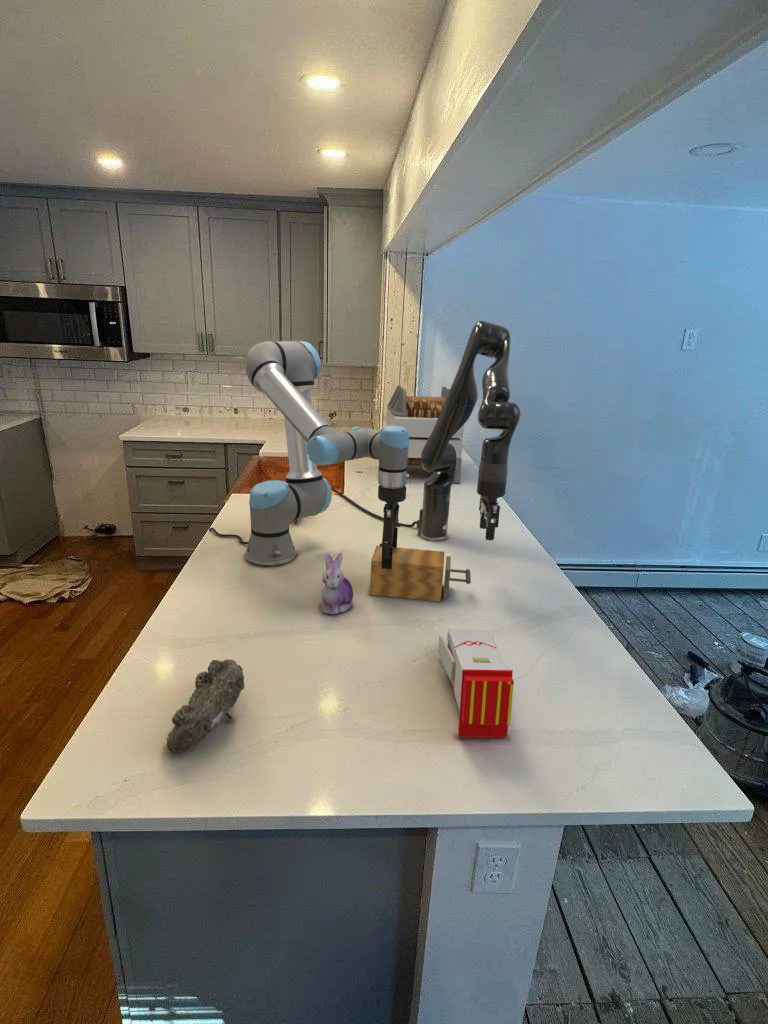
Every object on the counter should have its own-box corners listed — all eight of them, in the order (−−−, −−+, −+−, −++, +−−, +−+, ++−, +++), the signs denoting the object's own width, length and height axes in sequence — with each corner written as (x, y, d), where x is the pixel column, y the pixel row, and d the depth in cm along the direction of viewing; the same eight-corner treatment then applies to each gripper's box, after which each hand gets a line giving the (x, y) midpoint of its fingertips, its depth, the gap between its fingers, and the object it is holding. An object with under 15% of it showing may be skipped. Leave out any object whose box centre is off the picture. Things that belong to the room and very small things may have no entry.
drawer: (468, 584, 163) (471, 558, 160) (469, 600, 154) (472, 572, 151) (385, 577, 165) (387, 550, 162) (382, 591, 157) (383, 563, 154)
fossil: (192, 660, 117) (244, 628, 112) (224, 691, 120) (276, 661, 115) (142, 746, 98) (202, 712, 93) (182, 779, 101) (242, 748, 96)
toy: (488, 613, 130) (523, 677, 101) (484, 667, 133) (517, 744, 104) (435, 612, 130) (455, 676, 101) (432, 666, 133) (451, 743, 103)
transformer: (382, 463, 289) (386, 382, 275) (445, 464, 293) (451, 384, 279) (390, 482, 257) (394, 392, 243) (460, 483, 261) (468, 394, 247)
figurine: (327, 619, 143) (328, 565, 138) (313, 601, 152) (313, 549, 147) (361, 611, 147) (363, 559, 142) (345, 594, 156) (346, 544, 151)
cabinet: (441, 584, 164) (444, 551, 161) (440, 601, 155) (443, 566, 151) (374, 578, 166) (376, 545, 163) (370, 594, 157) (371, 560, 153)
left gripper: (402, 500, 139) (398, 578, 146) (409, 473, 162) (406, 542, 169) (371, 498, 139) (369, 576, 146) (383, 472, 163) (381, 540, 170)
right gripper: (512, 485, 144) (505, 544, 150) (500, 470, 158) (494, 525, 163) (483, 484, 144) (477, 543, 149) (473, 469, 157) (468, 524, 163)
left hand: (389, 558), depth 158 cm, fingers open, 13 cm apart
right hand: (486, 533), depth 156 cm, fingers open, 8 cm apart
